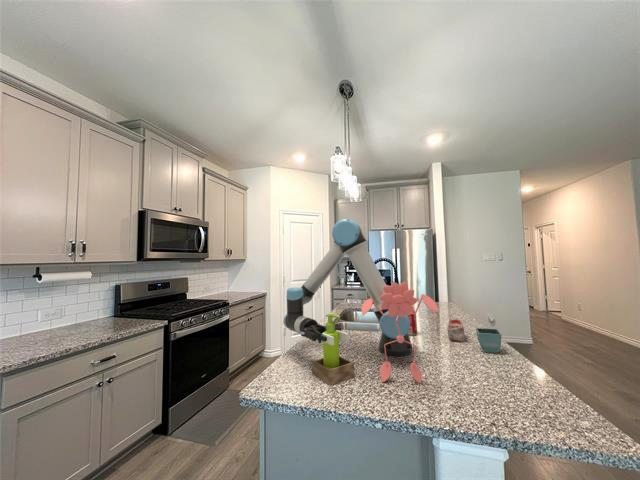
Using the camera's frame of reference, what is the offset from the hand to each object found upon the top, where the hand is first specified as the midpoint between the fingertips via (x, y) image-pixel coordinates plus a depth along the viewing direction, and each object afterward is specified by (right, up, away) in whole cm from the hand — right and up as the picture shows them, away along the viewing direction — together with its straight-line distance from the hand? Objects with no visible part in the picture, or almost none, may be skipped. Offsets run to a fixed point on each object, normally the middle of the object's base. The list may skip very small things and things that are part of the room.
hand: (340, 339), depth 99 cm
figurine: (+20, -14, -6) cm, 25 cm away
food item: (+63, -16, +43) cm, 78 cm away
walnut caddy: (-3, -15, +3) cm, 15 cm away
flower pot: (+69, -14, +24) cm, 74 cm away
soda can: (+43, -17, +53) cm, 70 cm away
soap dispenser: (-3, -13, +4) cm, 13 cm away
